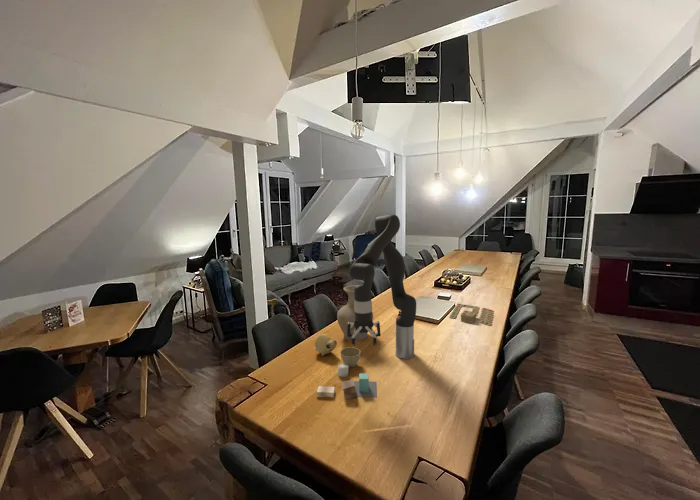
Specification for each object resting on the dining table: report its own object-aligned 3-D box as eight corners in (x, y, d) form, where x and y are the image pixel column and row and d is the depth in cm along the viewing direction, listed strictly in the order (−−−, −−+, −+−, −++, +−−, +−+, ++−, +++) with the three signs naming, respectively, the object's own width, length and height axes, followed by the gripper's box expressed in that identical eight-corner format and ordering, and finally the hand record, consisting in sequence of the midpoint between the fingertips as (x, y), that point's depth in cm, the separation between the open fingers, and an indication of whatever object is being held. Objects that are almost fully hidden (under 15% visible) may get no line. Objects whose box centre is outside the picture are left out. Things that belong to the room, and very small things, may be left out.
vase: (331, 340, 176) (330, 291, 171) (345, 326, 196) (344, 282, 191) (366, 346, 167) (366, 295, 163) (377, 331, 187) (377, 285, 183)
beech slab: (335, 393, 128) (334, 386, 127) (333, 399, 124) (333, 392, 123) (318, 392, 128) (318, 386, 128) (316, 398, 124) (316, 391, 124)
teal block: (368, 386, 131) (368, 373, 130) (368, 391, 127) (368, 378, 126) (359, 386, 131) (359, 373, 130) (359, 391, 127) (359, 378, 126)
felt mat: (376, 382, 134) (376, 381, 134) (377, 398, 123) (377, 397, 123) (352, 382, 135) (352, 381, 135) (350, 398, 124) (350, 396, 124)
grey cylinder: (338, 372, 143) (338, 364, 143) (348, 372, 143) (348, 364, 143) (337, 377, 138) (337, 368, 138) (348, 377, 138) (348, 368, 138)
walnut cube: (355, 389, 128) (353, 379, 127) (357, 396, 123) (354, 385, 122) (344, 392, 127) (341, 382, 127) (345, 400, 122) (342, 389, 122)
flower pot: (363, 361, 152) (362, 348, 151) (357, 372, 143) (356, 358, 142) (344, 358, 155) (344, 345, 154) (337, 368, 146) (337, 355, 145)
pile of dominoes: (491, 327, 192) (492, 319, 191) (448, 320, 205) (448, 312, 204) (495, 310, 222) (495, 303, 221) (457, 304, 235) (457, 298, 234)
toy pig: (327, 361, 153) (326, 341, 152) (311, 353, 161) (310, 335, 159) (340, 353, 161) (339, 334, 159) (324, 346, 168) (324, 329, 167)
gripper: (379, 306, 130) (380, 340, 133) (346, 306, 130) (348, 341, 133) (380, 312, 123) (381, 349, 125) (345, 313, 123) (347, 349, 126)
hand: (364, 345), depth 129 cm, fingers open, 8 cm apart
